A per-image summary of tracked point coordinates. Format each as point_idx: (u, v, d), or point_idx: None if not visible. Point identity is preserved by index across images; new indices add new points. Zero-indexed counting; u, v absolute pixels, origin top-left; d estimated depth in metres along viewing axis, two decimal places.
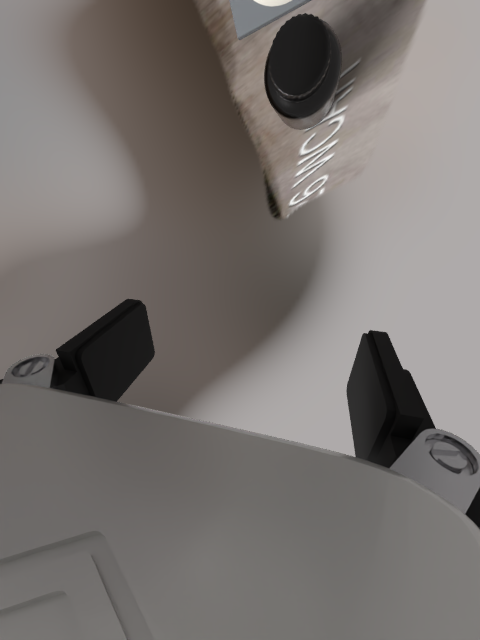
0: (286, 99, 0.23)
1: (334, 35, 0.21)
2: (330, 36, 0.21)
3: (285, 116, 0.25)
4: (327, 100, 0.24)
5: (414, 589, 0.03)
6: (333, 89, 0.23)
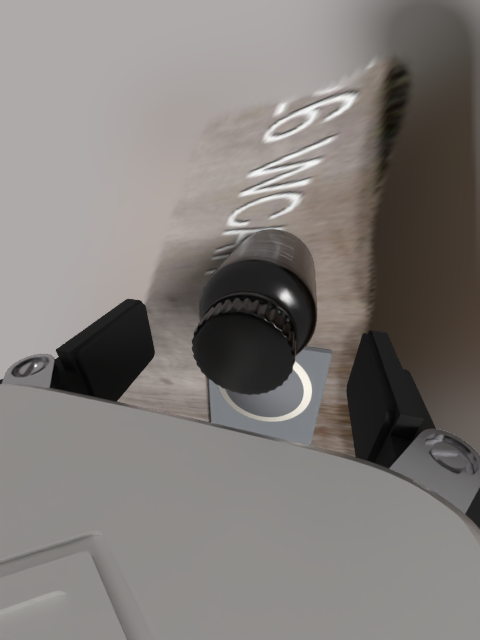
0: (281, 309, 0.12)
1: None
2: None
3: (296, 277, 0.13)
4: (222, 268, 0.14)
5: (414, 589, 0.03)
6: (211, 278, 0.14)
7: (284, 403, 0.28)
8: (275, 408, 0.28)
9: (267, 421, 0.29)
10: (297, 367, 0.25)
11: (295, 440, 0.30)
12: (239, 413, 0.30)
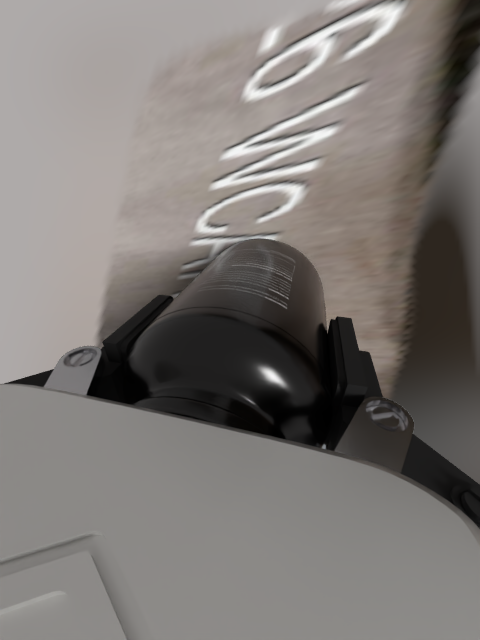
0: None
1: None
2: None
3: (293, 352, 0.06)
4: (153, 328, 0.07)
5: (414, 589, 0.03)
6: (135, 344, 0.07)
7: None
8: None
9: None
10: None
11: None
12: None
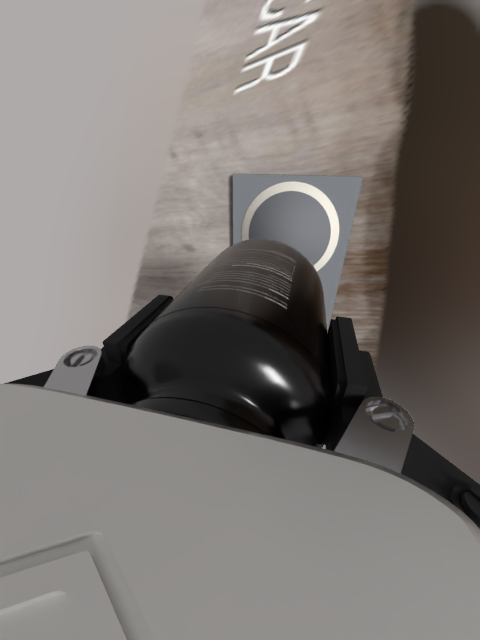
0: None
1: None
2: None
3: (293, 352, 0.06)
4: (152, 328, 0.07)
5: (414, 589, 0.03)
6: (134, 345, 0.07)
7: (309, 253, 0.27)
8: None
9: None
10: (325, 202, 0.25)
11: None
12: None
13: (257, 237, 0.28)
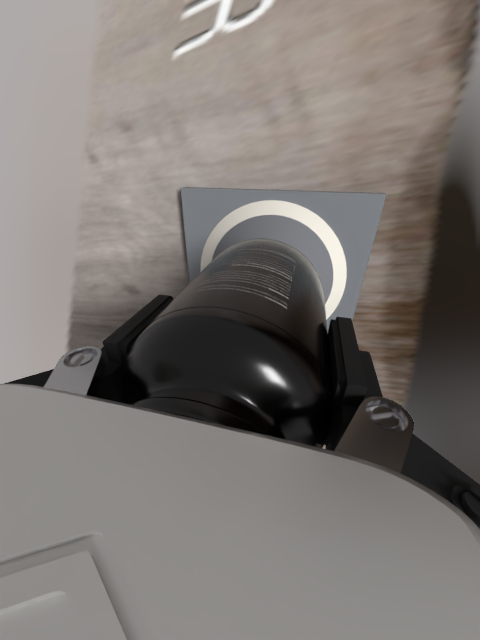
0: None
1: None
2: None
3: (293, 352, 0.06)
4: (152, 328, 0.07)
5: (414, 589, 0.03)
6: (134, 344, 0.07)
7: None
8: None
9: None
10: (325, 232, 0.16)
11: None
12: None
13: None
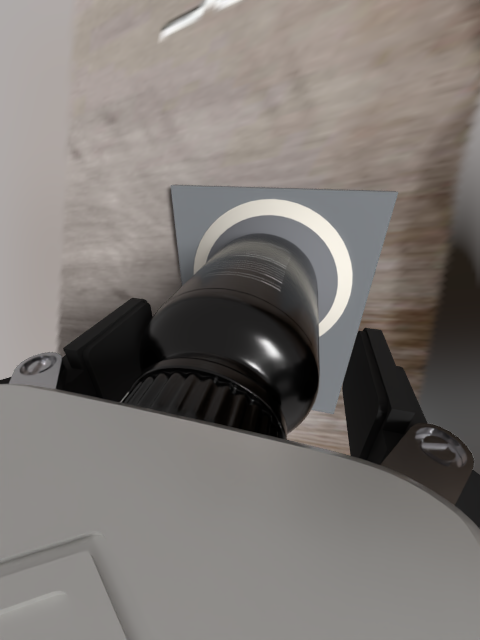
0: (253, 395, 0.06)
1: None
2: None
3: (284, 324, 0.08)
4: (166, 306, 0.08)
5: (414, 589, 0.03)
6: (151, 321, 0.09)
7: None
8: None
9: None
10: (328, 234, 0.14)
11: None
12: None
13: None
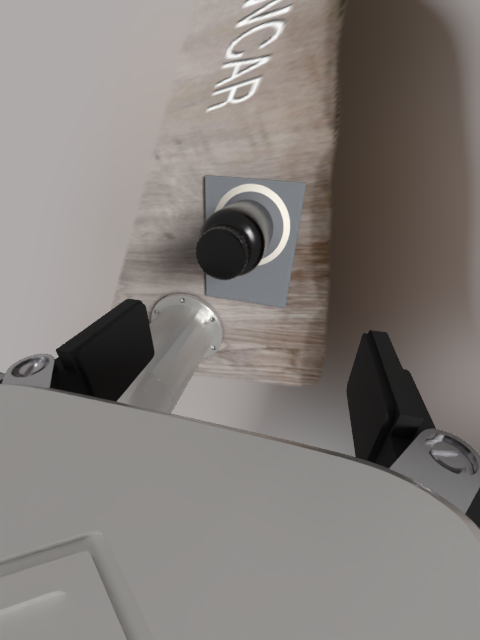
0: (241, 232, 0.23)
1: None
2: None
3: (252, 219, 0.24)
4: (213, 214, 0.25)
5: (413, 589, 0.03)
6: (206, 220, 0.25)
7: None
8: None
9: None
10: (278, 201, 0.31)
11: (276, 285, 0.36)
12: None
13: None
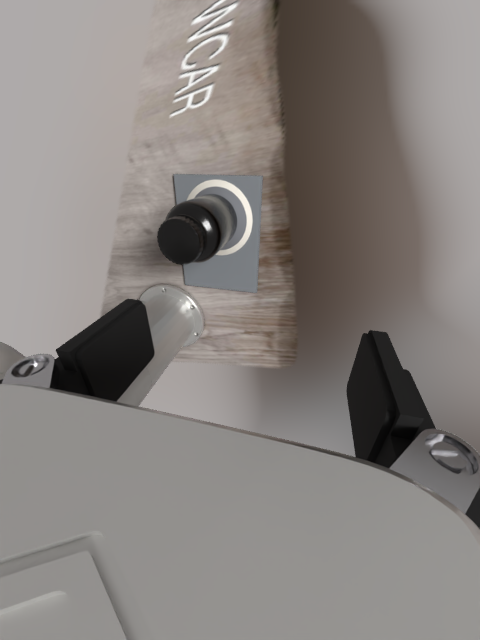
0: (195, 221, 0.26)
1: None
2: None
3: (207, 209, 0.28)
4: (173, 207, 0.28)
5: (414, 589, 0.03)
6: None
7: None
8: None
9: (224, 254, 0.39)
10: (239, 194, 0.34)
11: (246, 272, 0.39)
12: None
13: None
